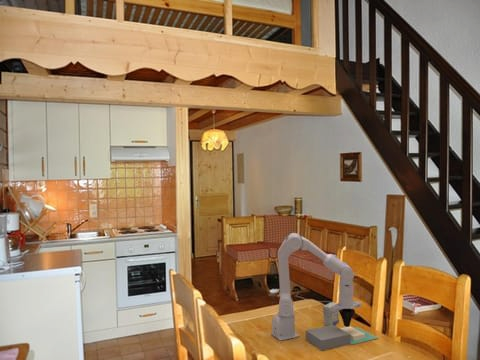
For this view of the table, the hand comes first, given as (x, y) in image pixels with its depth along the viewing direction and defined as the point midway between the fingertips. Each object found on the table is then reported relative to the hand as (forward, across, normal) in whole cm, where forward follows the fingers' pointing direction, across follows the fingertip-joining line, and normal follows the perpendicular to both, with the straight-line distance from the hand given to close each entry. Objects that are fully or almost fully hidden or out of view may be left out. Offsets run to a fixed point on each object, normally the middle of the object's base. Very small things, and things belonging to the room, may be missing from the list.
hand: (346, 326), depth 156 cm
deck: (+5, -10, 0) cm, 11 cm away
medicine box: (+5, +4, +16) cm, 17 cm away
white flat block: (+3, +3, 0) cm, 4 cm away
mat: (+5, +4, 0) cm, 6 cm away
